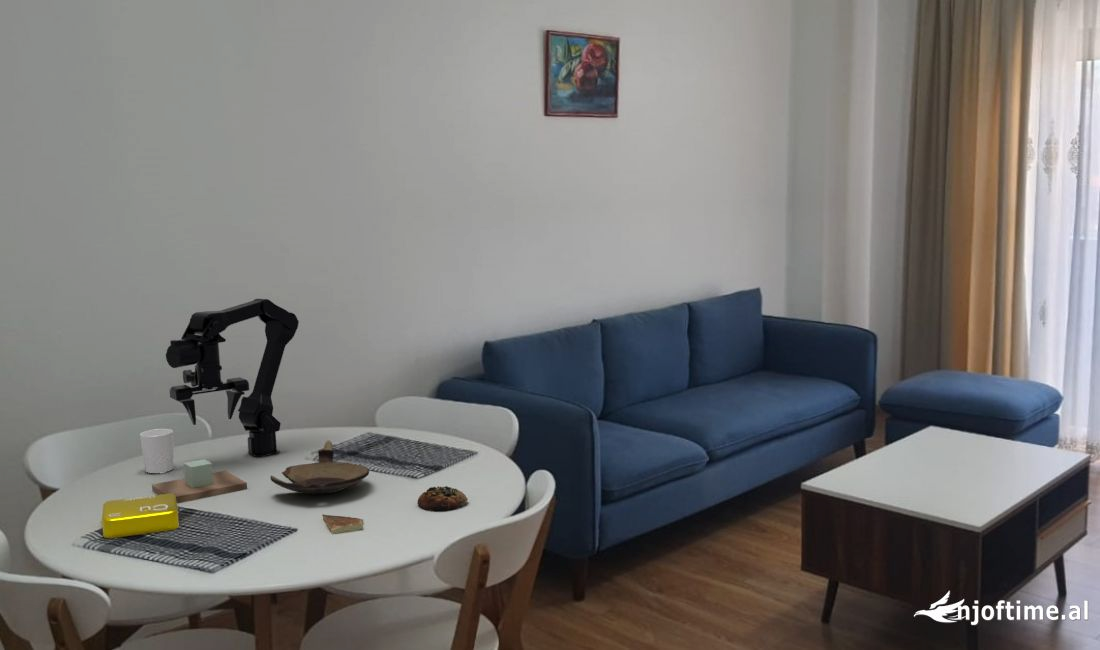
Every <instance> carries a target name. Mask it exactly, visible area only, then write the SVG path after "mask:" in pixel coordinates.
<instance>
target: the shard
mask: <svg viewBox="0 0 1100 650" xmlns="http://www.w3.org/2000/svg"><path fill="white" fill-rule="evenodd" d="M322 519H323V521H324V523H326V525H327V526H328V529H329V530H330V532H331V533H332V535H335V534H341V533H342V534H344V533H347V532H358V531H360V530H361V529H362V527H363V525H364V519H363V518H362V519H361V518H359V517H358V518H357V517H351V516H342V515H341V516H340V515H332V514H331V515H330V514H324V513H323V514H322Z"/></svg>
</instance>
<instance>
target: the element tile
mask: <svg viewBox="0 0 1100 650" xmlns="http://www.w3.org/2000/svg"><path fill="white" fill-rule="evenodd" d="M178 509H179V508H178V503H177V501H176V496H175V495H174V494H162V495H158V494H156V495H147V496H139V497H137V496H136V497H130V498H129V497H128V498H124V499H123V498H122V499H116V500H115V499H114V500H107V501H106V502H104V503H103V505H102V515H101V525H102V536H103V538H105V539H114V538H115V539H116V538H123V537H128V536H129V537H130V536H138V535H146V534H153V533H159V532H167V531H173V530H176V529H178V528H179V527H180V522H179V510H178Z"/></svg>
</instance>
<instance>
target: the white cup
mask: <svg viewBox="0 0 1100 650" xmlns="http://www.w3.org/2000/svg"><path fill="white" fill-rule="evenodd" d="M139 435H140V436H139V438H140V444H141V445H140V446H141V451H142V452H141V453H142V458H143V463H144V470H145V473H146V472H149V473H160V472H166V471H169V470H172V469H173V470H174V455H175V454H174V453H175V452H174V448H175V447H174V431H173V429H171V428H155V429H154V428H153V429H149V430H145V431H143V432H141V433H139ZM173 470H172V471H173ZM169 472H170V471H169ZM149 473H148V474H149ZM166 473H167V472H166ZM160 474H161V473H160Z"/></svg>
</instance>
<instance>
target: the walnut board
mask: <svg viewBox="0 0 1100 650" xmlns="http://www.w3.org/2000/svg"><path fill="white" fill-rule="evenodd" d="M247 489H248V482H246V481H245V480H243V479H241V478H239V477H237V475H235V474H233V473H231V472H229V471H227V470H221V471H217V472H215V471H214V472H213V484H210V485H205V486H200V487H195V488H192V487H190V486H189V485H187V484H186V483H185V477H184V478H180V479H173V480H169V481H164V482H157V483H153V484H151V491H152V492H153V493H154V494H156V495H162V494H174V495H175V496H176V501H177V504H179V503H185V502H188V501H193V500H199V499H203V498H208V497H209V498H210V497H214V496H218V495H223V494H227V493H233V492H237V491H239V492H240V491H243V490H247Z"/></svg>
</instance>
